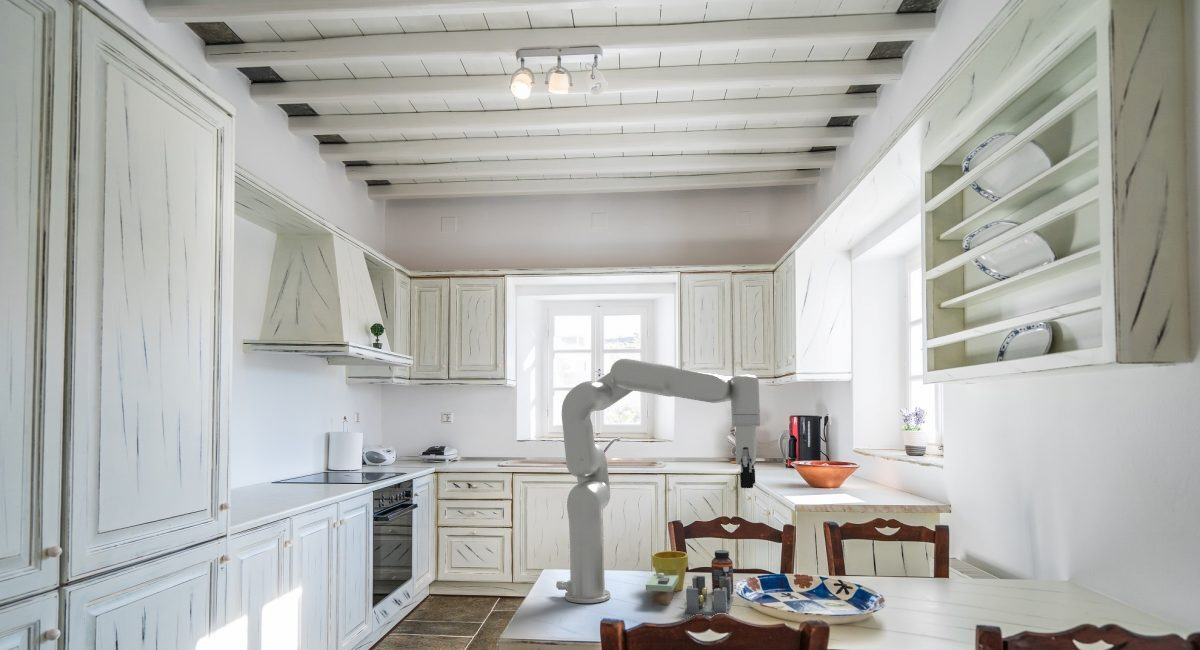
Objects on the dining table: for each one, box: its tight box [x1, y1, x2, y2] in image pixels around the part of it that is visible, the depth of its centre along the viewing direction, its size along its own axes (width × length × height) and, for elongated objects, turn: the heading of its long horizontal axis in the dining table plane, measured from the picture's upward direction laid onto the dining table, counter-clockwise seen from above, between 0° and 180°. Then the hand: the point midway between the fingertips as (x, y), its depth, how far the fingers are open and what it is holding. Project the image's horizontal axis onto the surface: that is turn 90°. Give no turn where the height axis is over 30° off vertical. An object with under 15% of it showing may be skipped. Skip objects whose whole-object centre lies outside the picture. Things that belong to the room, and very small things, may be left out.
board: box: [645, 573, 679, 592], centre depth 209 cm, size 7×12×2 cm, turn 165°
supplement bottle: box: [711, 549, 734, 594], centre depth 217 cm, size 6×6×11 cm
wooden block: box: [652, 591, 674, 606], centre depth 208 cm, size 4×8×4 cm, turn 165°
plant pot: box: [651, 550, 689, 592], centre depth 221 cm, size 10×10×10 cm
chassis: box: [684, 575, 734, 616], centre depth 202 cm, size 11×16×6 cm
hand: (748, 485), depth 204 cm, fingers open, 9 cm apart
